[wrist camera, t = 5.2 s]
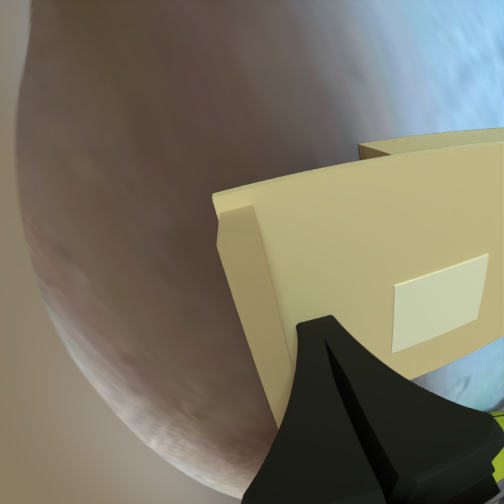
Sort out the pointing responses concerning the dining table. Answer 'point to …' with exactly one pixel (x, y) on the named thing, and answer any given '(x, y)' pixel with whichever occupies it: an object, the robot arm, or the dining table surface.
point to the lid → (370, 258)
